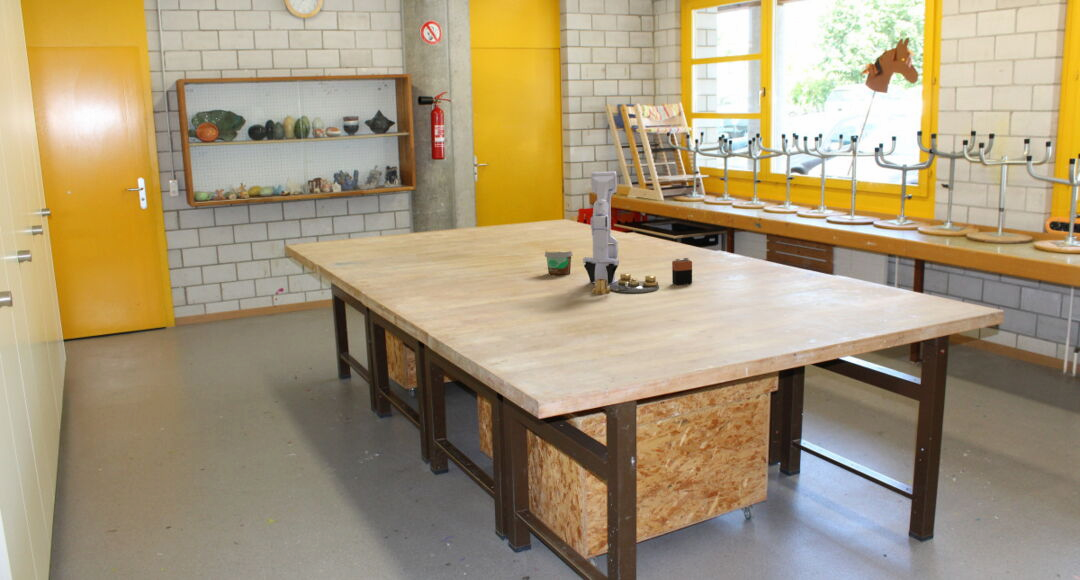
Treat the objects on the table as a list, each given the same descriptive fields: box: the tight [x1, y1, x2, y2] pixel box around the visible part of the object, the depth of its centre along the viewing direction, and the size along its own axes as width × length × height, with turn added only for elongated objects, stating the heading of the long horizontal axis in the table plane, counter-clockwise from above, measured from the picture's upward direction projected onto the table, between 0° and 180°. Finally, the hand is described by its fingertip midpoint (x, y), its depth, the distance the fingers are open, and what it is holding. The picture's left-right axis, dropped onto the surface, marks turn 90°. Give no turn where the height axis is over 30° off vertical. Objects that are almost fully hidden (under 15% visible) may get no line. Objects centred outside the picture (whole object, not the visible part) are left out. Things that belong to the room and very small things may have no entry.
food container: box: [544, 250, 573, 277], centre depth 377 cm, size 12×6×10 cm, turn 68°
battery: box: [671, 257, 693, 286], centre depth 349 cm, size 4×7×10 cm, turn 104°
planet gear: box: [592, 279, 611, 295], centre depth 339 cm, size 7×7×5 cm
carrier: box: [609, 273, 660, 295], centre depth 344 cm, size 19×19×4 cm
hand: (601, 282), depth 338 cm, fingers open, 7 cm apart
